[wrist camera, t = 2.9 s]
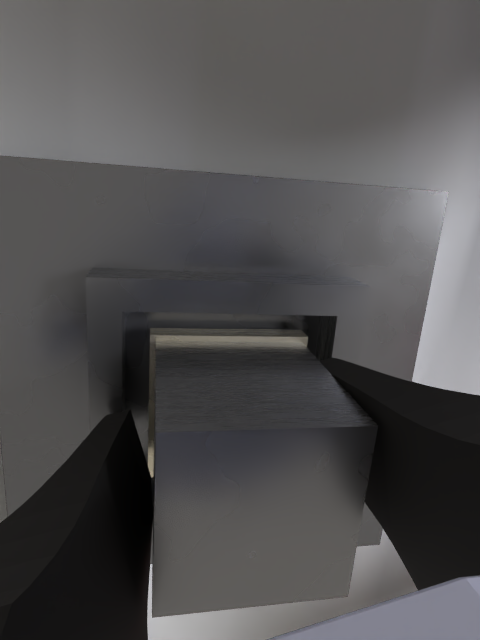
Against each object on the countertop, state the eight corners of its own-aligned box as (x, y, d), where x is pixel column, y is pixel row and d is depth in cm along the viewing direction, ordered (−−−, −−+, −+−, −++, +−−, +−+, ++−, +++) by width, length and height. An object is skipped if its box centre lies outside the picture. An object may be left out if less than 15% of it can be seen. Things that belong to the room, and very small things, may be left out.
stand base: (427, 191, 13) (543, 194, 9) (366, 524, 17) (432, 630, 13) (-10, 156, 11) (-103, 142, 7) (22, 550, 14) (-29, 689, 10)
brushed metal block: (297, 326, 13) (387, 418, 8) (283, 452, 14) (353, 601, 9) (150, 324, 12) (146, 424, 7) (148, 458, 13) (143, 624, 8)
